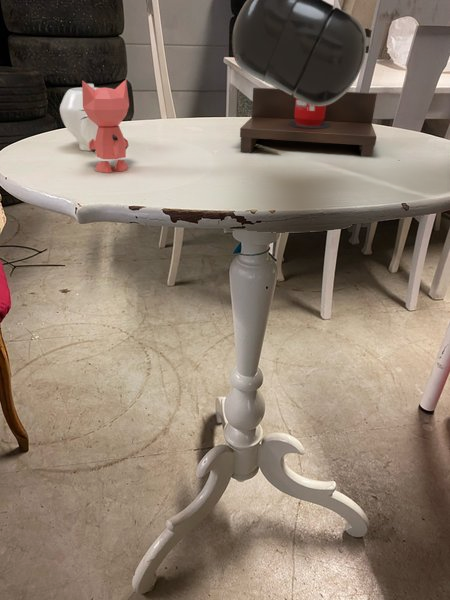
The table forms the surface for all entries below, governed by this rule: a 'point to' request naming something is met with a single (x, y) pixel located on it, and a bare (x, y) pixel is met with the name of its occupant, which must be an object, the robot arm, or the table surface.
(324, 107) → the beverage can
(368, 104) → the bench
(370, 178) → the table surface
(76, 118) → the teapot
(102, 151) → the cat figurine
